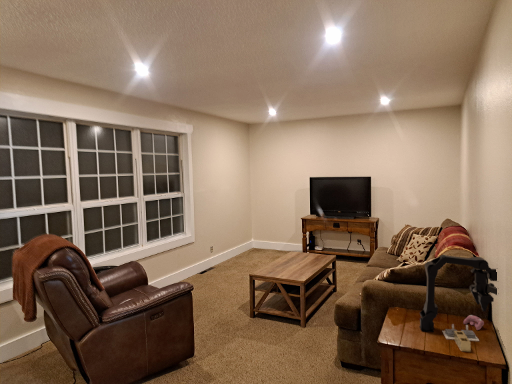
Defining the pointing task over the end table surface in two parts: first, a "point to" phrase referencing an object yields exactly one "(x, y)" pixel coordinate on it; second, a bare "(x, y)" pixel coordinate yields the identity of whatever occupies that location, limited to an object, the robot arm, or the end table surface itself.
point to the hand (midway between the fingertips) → (481, 307)
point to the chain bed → (470, 334)
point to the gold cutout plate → (462, 341)
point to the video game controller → (472, 319)
